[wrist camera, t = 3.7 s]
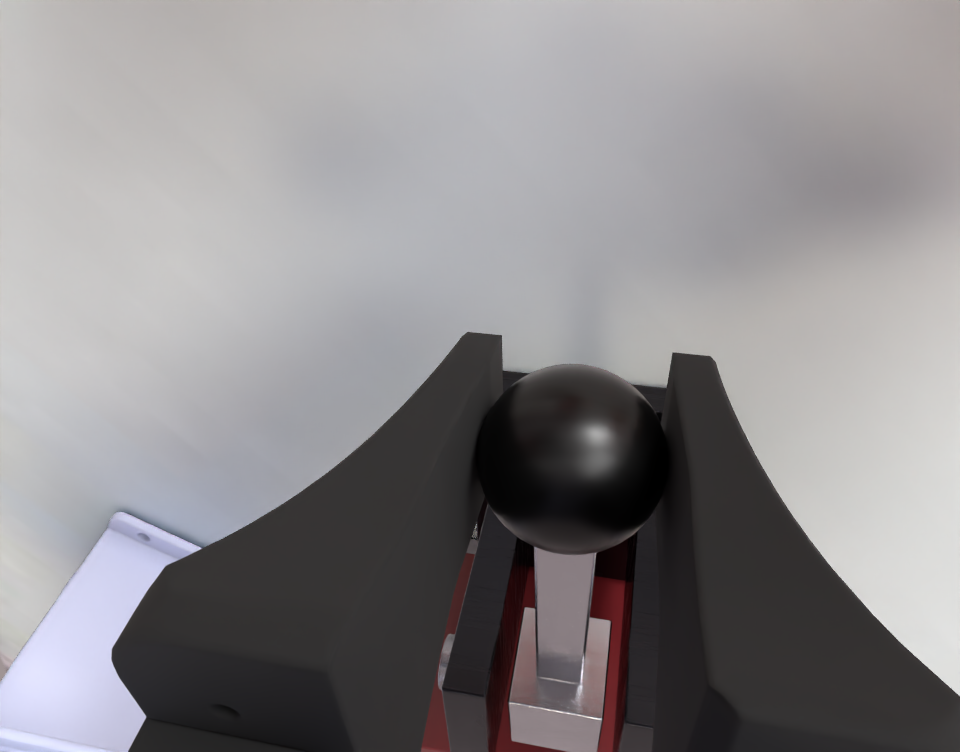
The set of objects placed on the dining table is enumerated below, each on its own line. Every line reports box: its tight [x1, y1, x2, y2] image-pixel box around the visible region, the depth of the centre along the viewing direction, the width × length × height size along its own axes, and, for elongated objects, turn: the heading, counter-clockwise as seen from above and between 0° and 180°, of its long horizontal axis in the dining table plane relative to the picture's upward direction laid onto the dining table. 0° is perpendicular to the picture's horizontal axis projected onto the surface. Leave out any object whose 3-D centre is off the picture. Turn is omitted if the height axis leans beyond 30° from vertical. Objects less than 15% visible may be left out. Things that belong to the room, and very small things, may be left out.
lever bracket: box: [438, 371, 667, 752], centre depth 21 cm, size 8×7×9 cm
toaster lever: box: [477, 364, 668, 752], centre depth 16 cm, size 12×3×3 cm, turn 2°
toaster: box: [421, 539, 625, 752], centre depth 28 cm, size 11×9×8 cm
